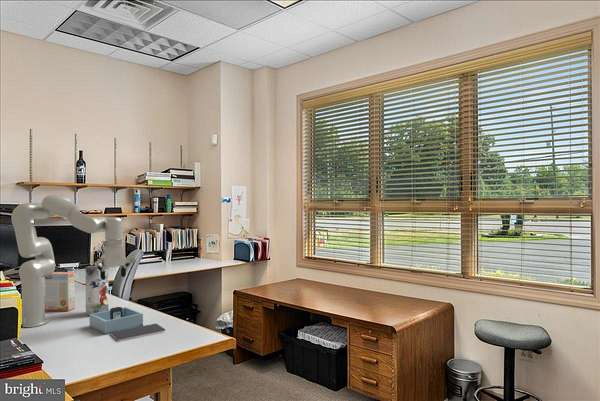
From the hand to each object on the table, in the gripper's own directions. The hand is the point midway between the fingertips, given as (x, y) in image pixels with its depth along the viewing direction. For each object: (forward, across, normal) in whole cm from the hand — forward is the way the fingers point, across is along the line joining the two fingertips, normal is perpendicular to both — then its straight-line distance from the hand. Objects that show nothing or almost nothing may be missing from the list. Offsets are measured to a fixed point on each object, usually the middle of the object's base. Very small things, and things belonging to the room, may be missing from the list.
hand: (113, 277), depth 203 cm
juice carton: (+24, +4, +28) cm, 37 cm away
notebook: (+24, +3, -20) cm, 31 cm away
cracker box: (+24, -7, +51) cm, 57 cm away
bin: (+23, +1, -2) cm, 23 cm away
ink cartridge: (+23, +1, -2) cm, 23 cm away
